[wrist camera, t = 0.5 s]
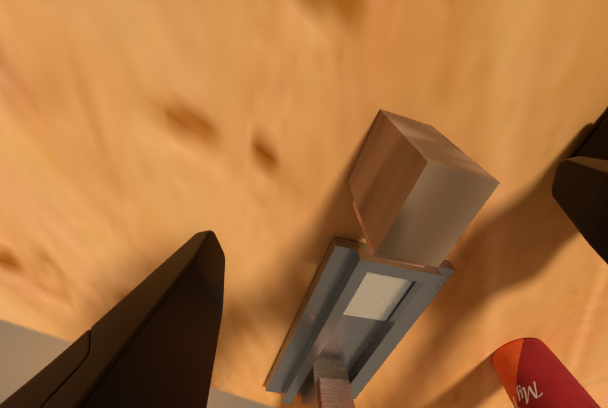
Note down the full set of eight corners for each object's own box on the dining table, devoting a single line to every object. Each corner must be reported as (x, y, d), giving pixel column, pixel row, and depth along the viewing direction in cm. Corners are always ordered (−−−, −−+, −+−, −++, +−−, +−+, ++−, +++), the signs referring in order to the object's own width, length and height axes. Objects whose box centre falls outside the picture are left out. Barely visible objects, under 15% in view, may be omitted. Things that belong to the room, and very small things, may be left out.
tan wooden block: (431, 125, 19) (499, 182, 13) (390, 201, 22) (431, 275, 16) (379, 109, 18) (428, 161, 13) (343, 189, 21) (369, 263, 15)
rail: (449, 261, 26) (510, 355, 19) (353, 389, 36) (370, 480, 29) (333, 236, 23) (356, 333, 17) (265, 381, 33) (263, 477, 27)
